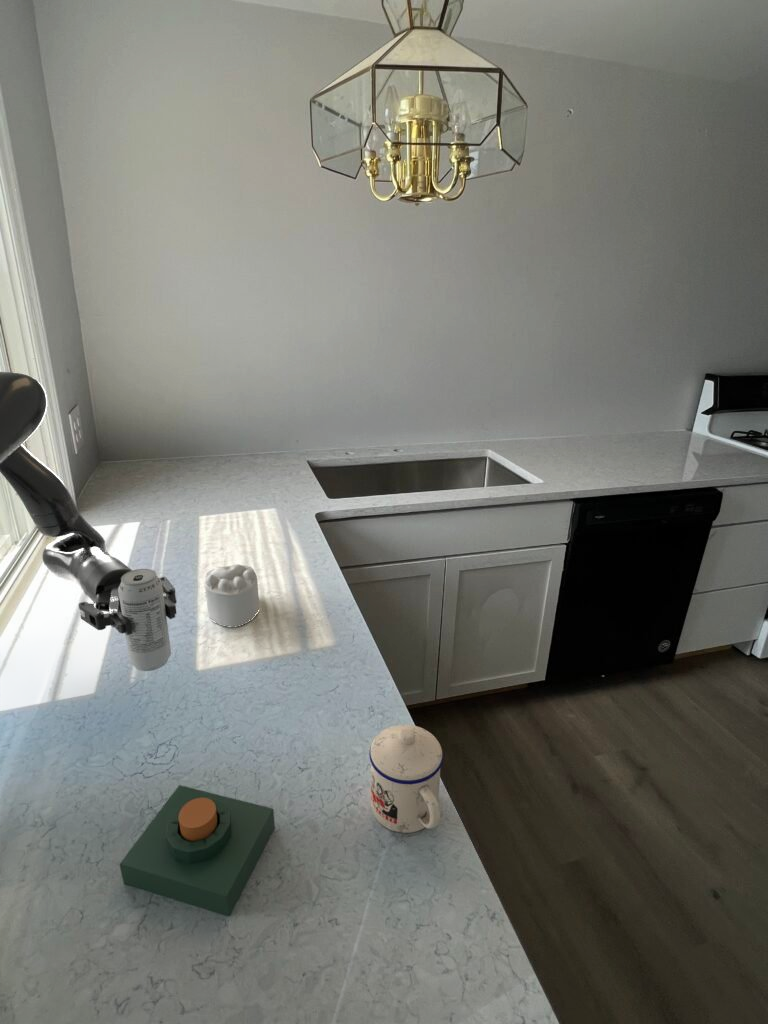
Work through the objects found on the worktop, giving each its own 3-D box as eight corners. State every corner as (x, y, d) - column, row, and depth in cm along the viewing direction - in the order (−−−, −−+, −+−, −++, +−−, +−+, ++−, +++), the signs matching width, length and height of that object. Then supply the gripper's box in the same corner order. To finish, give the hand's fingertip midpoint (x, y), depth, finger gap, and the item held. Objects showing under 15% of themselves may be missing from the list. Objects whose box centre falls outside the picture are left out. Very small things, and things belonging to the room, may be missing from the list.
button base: (123, 884, 61) (116, 851, 60) (182, 803, 71) (177, 773, 70) (229, 917, 58) (225, 883, 57) (275, 827, 68) (272, 797, 66)
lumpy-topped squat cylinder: (255, 592, 123) (252, 557, 120) (263, 622, 112) (260, 584, 109) (206, 600, 120) (202, 563, 117) (209, 631, 108) (205, 592, 105)
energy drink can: (174, 649, 90) (164, 565, 85) (168, 671, 85) (156, 584, 80) (135, 652, 89) (122, 568, 84) (126, 675, 84) (111, 586, 79)
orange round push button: (173, 836, 62) (171, 823, 61) (193, 807, 65) (191, 794, 65) (205, 845, 61) (203, 831, 60) (224, 815, 65) (222, 801, 64)
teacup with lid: (357, 791, 73) (357, 720, 69) (417, 767, 77) (420, 699, 73) (400, 869, 63) (403, 792, 59) (466, 837, 67) (473, 763, 63)
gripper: (57, 575, 88) (96, 616, 76) (148, 549, 97) (194, 582, 86) (66, 616, 90) (105, 662, 79) (153, 587, 100) (199, 624, 89)
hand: (151, 620), depth 83 cm, fingers closed on energy drink can, 6 cm apart
